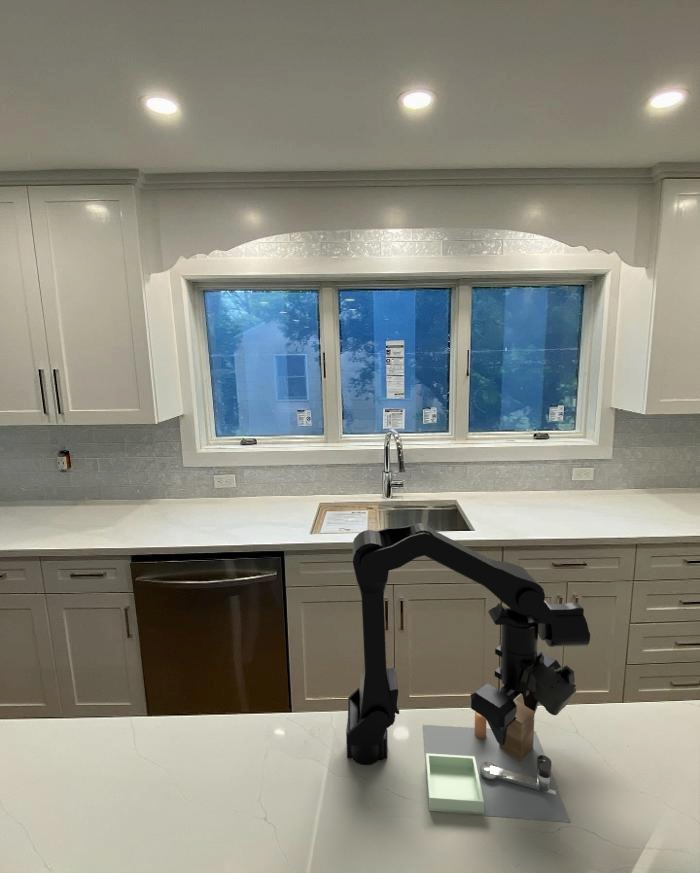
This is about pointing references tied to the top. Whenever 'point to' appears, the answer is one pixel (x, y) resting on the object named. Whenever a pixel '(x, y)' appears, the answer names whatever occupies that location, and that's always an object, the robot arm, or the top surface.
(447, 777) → the tray
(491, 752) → the plate
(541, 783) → the crank
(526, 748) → the block
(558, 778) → the top surface
